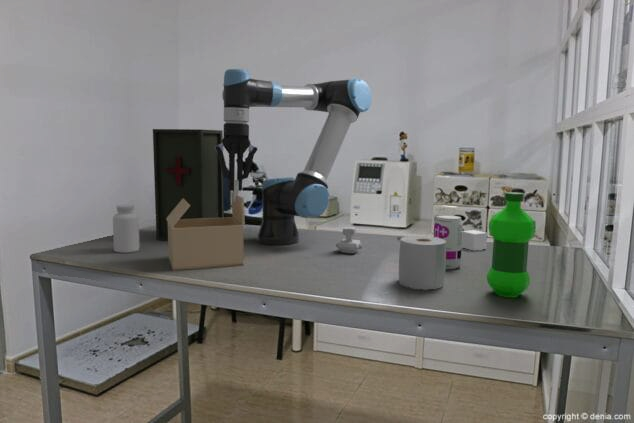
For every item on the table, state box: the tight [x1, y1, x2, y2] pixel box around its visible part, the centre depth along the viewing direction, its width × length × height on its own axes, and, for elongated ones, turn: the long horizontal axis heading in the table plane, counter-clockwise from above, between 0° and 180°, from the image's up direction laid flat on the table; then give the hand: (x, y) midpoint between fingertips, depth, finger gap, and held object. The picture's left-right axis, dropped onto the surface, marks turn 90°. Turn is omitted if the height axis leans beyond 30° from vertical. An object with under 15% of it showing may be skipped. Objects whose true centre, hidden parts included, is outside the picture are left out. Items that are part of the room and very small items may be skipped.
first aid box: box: [152, 128, 225, 241], centre depth 187 cm, size 18×18×40 cm
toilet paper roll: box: [398, 235, 446, 291], centre depth 131 cm, size 12×12×12 cm
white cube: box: [462, 229, 488, 252], centre depth 175 cm, size 6×6×6 cm
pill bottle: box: [112, 204, 140, 254], centre depth 164 cm, size 8×8×15 cm
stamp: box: [335, 226, 364, 255], centre depth 166 cm, size 9×7×8 cm
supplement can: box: [433, 214, 464, 270], centre depth 149 cm, size 8×8×15 cm
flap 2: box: [230, 191, 246, 226], centre depth 153 cm, size 8×15×1 cm
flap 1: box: [166, 199, 190, 228], centre depth 147 cm, size 8×15×1 cm
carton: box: [167, 216, 245, 272], centre depth 151 cm, size 20×16×12 cm
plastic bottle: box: [486, 191, 537, 298], centre depth 122 cm, size 10×10×25 cm
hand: (235, 201), depth 153 cm, fingers closed
